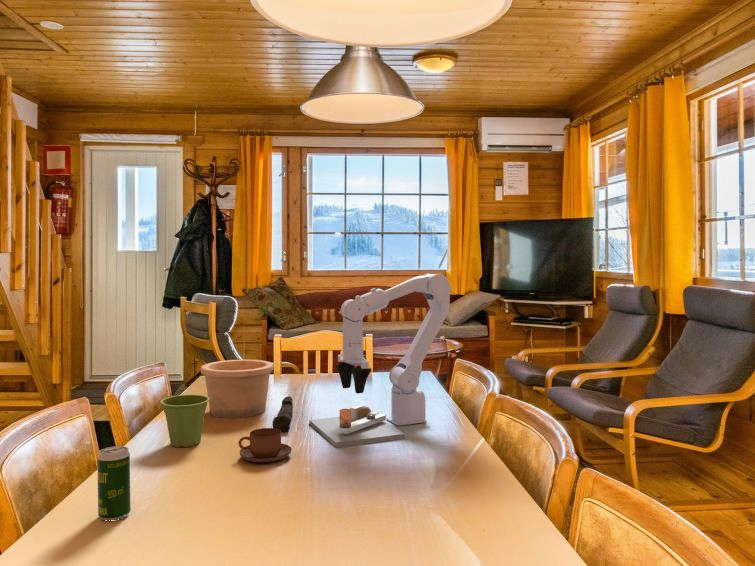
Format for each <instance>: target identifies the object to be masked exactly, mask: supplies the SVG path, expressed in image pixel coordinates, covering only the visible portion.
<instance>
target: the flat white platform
mask: <svg viewBox="0 0 755 566" xmlns="http://www.w3.org/2000/svg"><path fill="white" fill-rule="evenodd" d="M362 407H366V406H365V405H364V404H363V405H362V404H357V405H355V406H351V407H349V409H351V423H352V422H354V421H357V420H360V419H362V418H361V417H360V416H359V410H360V409H361V408H362ZM308 422H309V423H308V424H309V425H310V426H311V427H312V428H313V429H314V430H315V431H317V432H318V433H319V434H320V435H321V436H322V437H323V438H324V439H326V440H327V441H328V442H329V443H330V444H331V445H333V446H334V447H335V448H339V447H340V448H342V447H349V446H357V445H364V444H371V443H379V442H386V441H388V442H389V441H393V440H395V441H396V440H402V439H405V438H406V433H404V432H402V431H401V430H399V429H398V428H396V427H394V426H393V425H391V424H389V423H388V422H386V420H384V421H382V422H379V423H376V424H373V425H371V426H368V427H365V428H362V429H360V430H357V431H354V432H351V433H349V434H344V433H340V432H339V427H340V416H334V417H332V416H331V417H324V418H316V419H309V421H308Z"/></svg>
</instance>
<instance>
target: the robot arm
mask: <svg viewBox="0 0 755 566" xmlns="http://www.w3.org/2000/svg"><path fill="white" fill-rule="evenodd" d="M451 291H452V286H451V284H450V281H449V279H448V277H446V275H445V274H442V273H434V274H433V273H424V274H422V275H418V276H414V277H412V278H410V279H408V280H405V281H403V282H401V283H399V284H396V285H394V286H392V287H391V288H388V289H385V290H383V289H381V288H375V287H374V288H371V289H370V291H369V292H367V293H364V294H362V295H359V294H358V295H356V296H355V299H346V300H345V301H344V302H343V303H342V305H341V307H340V309H339V311H340V314H341V316H342V354H337V362H339V363H335V364H334V366H335V368H336V370H337V372H338V375H339V379H340V383H341V386H342V389H350V388H351V387H352V379H353V383H354V392H355V394H362V393H363V394H364V391H365V386H366V383H367V381H368V380H367V379H368V377H369V375H370V373H371V372H372V367H370V361H368V360H367V359H366V358H365V357H364V337H363V336H364V325H363V323H364V321H363V319H364V318H365V316H369V315H371V314H373V313H375V312H377V311H380V310H382V309H385V308H387V307H388V305H389V303H390V301H393V300H395V299H399V298H401V297H404V296H406V295H409V294H411V293H414V292H415V293H422V295H423V296H424V298H426V301H427V304H428V306H429V310H428V312H427V313H426V316H425V317H424V319H423V320H422V323H421V325H420V327H419V328H418V331H417V332H416V334H415V336H414V338H413V340H412V342H411V344H410V346H409V348H408V350H407V352H406V353H405V354H404V356H403V357H402V358H400V359H399V360H398V362H397V364H396V365H395V366H393V367H392V368H391V369H390V371H389V374H388V379H389V382H390V383H391V384H392V387H391V393H390V394H391V410H390V411H391V414H390V415H391V416H386V420H387V421H389V422H391V423H392V424H393V425H395V426H405V425H413V424H423V423H427V422H428V421H427V420H426V395H425V393H424V391H423V389H417V388H418V387H419V385H420V377H421V374H422V372H423V367H422V364H423V361H424V360H425V358H426V356H427V354H428V352H429V350H430V348H431V346H432V345H433V343H434V340H436V339H435V338H436V337H437V335H438V333H439V331H440V330H441V327H442V326H443V323H444V321H445V319H446V318H447V315H448V314H449V312H450V308H451V307H450V306H451V305H450V304H451V298H450V296H451ZM352 377H353V378H352Z"/></svg>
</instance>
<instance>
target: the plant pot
mask: <svg viewBox="0 0 755 566" xmlns="http://www.w3.org/2000/svg"><path fill="white" fill-rule="evenodd" d="M209 399H210V398H209V397H208V395H205V394H204V395H203V394H180V395H179V394H178V395H173V396H172V395H171V396H168V397H165V398H163V399H161V400H160V404H161V405H162V409H163V413H164V415H165V419H166V425H167V430H168V437H169V441H170V445H171V446H172V447H174V448H179V447H184V448H190V447H194V446H197V445H199V443H200V442H201V441H202V440H201V439H202V435H203V434H202V433H203V428H204V427H203V426H204V421H205V413H206V410H207V406H208V403H209Z"/></svg>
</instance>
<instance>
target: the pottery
mask: <svg viewBox="0 0 755 566" xmlns="http://www.w3.org/2000/svg"><path fill="white" fill-rule="evenodd" d="M274 370H275V366H274V364H273V363H272V362H271V361H266V360H261V359H228V360H220V361H219V360H218V361H214V362H212V361H211V362H209V363H205V364H203V365H201V366H200V373H201V375H203V376H204V380H205V387H206V394H207V397H209V398H210V399H209V401H208V407H209V413H210V415H211V416H213V417H216V418H221V419H222V418H223V419H240V418H241V419H242V418H249V417H250V418H251V417H255V416H258V415H260V414H262V413H264V412H265V411H266V405H267V399H268V398H267V397H268V390H269V383H270V374H271V373H272V372H273V371H274Z"/></svg>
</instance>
